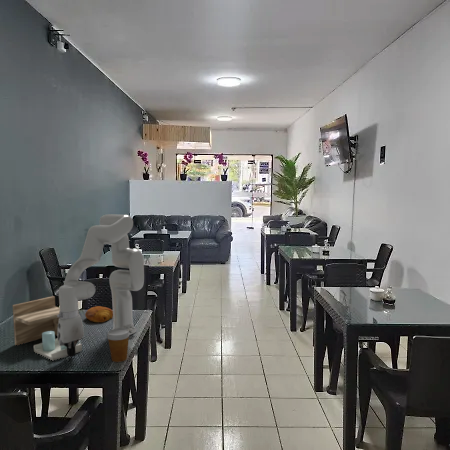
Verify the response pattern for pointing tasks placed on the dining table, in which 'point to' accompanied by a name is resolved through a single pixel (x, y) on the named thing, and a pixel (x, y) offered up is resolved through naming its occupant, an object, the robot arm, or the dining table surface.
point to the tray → (55, 352)
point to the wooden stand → (34, 319)
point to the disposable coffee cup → (118, 344)
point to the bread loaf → (99, 314)
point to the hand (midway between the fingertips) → (71, 355)
